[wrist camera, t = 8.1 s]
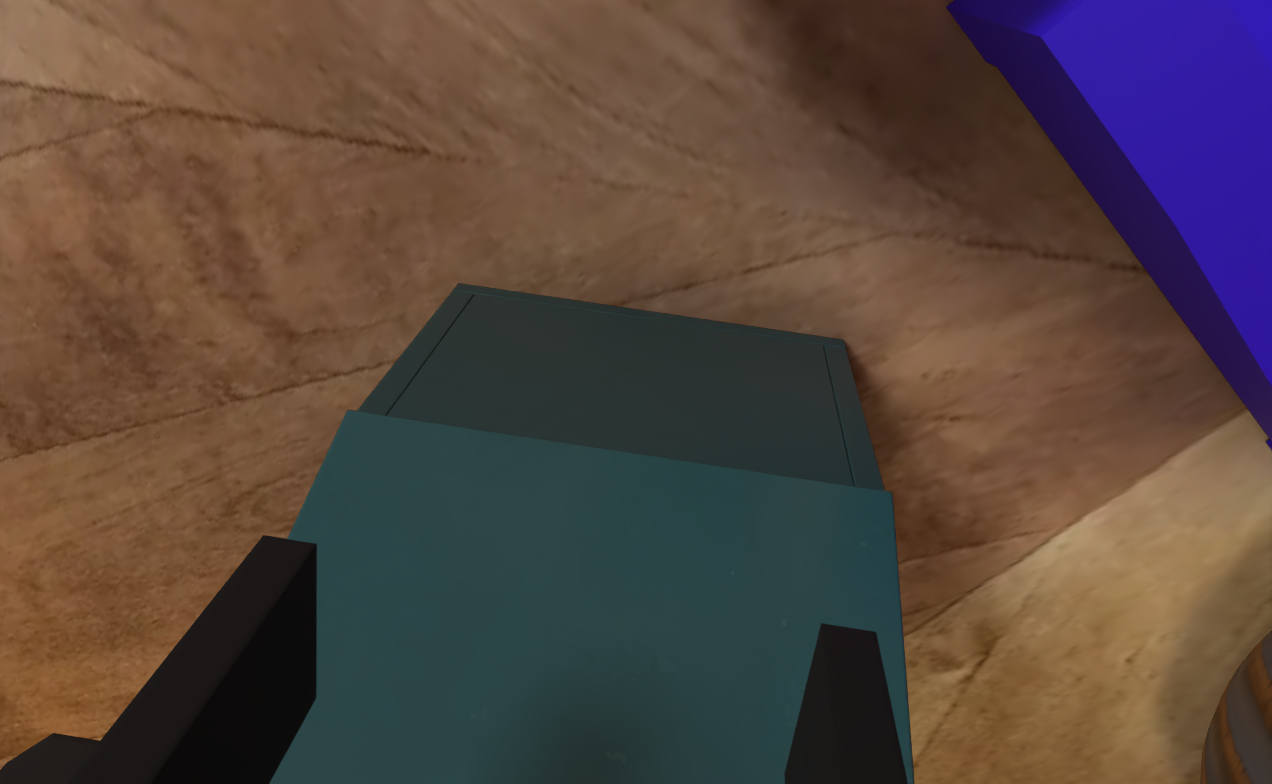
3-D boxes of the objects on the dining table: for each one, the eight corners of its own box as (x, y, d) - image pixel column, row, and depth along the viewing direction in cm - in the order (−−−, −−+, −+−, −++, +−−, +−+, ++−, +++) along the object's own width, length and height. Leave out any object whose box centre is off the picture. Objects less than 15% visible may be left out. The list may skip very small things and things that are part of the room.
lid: (947, 1445, 14) (1249, 1438, 8) (-33, 1272, 14) (-384, 1153, 9) (885, 511, 26) (991, 247, 20) (349, 430, 26) (306, 149, 20)
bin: (765, 692, 42) (775, 923, 32) (438, 641, 42) (348, 853, 33) (844, 339, 36) (886, 492, 26) (457, 282, 36) (354, 411, 26)
